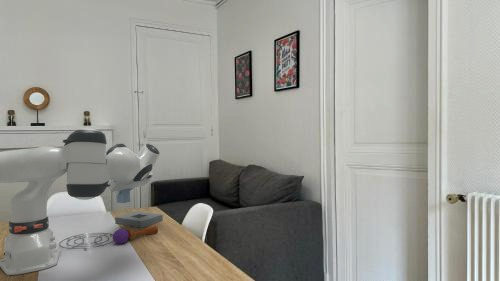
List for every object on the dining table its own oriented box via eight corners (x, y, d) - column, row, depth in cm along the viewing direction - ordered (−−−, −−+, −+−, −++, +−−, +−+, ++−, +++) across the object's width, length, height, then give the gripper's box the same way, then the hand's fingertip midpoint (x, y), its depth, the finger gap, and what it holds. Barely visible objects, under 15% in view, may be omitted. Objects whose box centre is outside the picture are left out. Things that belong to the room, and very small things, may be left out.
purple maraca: (160, 225, 151) (119, 233, 135) (158, 238, 151) (116, 247, 135) (152, 221, 154) (111, 227, 139) (150, 233, 155) (108, 242, 139)
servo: (132, 201, 162) (131, 183, 162) (125, 203, 159) (124, 184, 159) (121, 200, 166) (120, 182, 166) (114, 202, 163) (113, 183, 162)
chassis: (162, 220, 174) (162, 214, 174) (141, 227, 162) (141, 221, 162) (137, 216, 183) (137, 211, 183) (115, 223, 170) (115, 217, 170)
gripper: (121, 180, 148) (106, 201, 153) (156, 175, 165) (142, 194, 170) (113, 170, 150) (99, 191, 155) (148, 165, 167) (135, 184, 172)
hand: (122, 192), depth 163 cm, fingers closed on servo, 4 cm apart
